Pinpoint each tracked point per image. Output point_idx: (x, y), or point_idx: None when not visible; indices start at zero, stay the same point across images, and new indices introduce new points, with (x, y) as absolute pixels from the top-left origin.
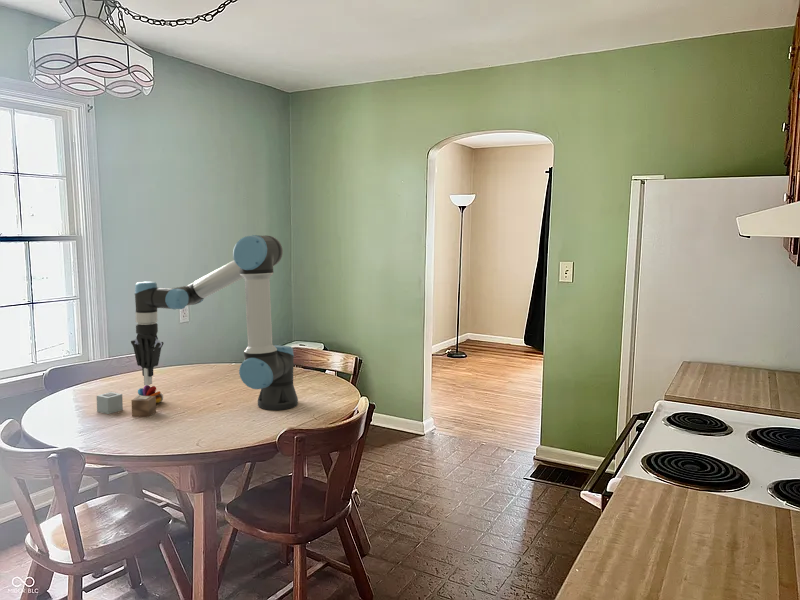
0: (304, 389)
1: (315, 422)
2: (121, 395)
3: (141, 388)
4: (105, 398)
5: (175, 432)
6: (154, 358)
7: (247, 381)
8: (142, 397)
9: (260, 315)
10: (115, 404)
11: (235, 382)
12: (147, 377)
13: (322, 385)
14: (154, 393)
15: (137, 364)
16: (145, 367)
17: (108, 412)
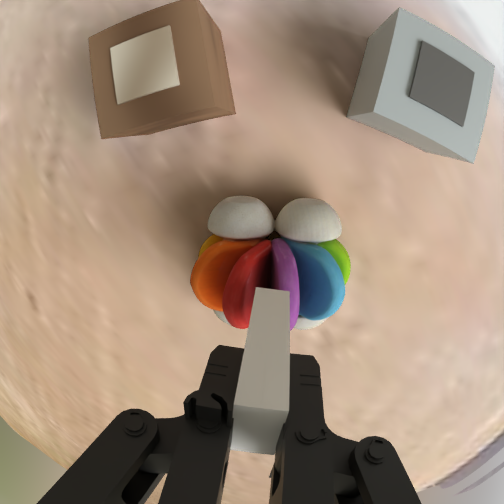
0: (15, 406)
1: None
2: (373, 105)
3: (330, 303)
4: (419, 20)
5: (3, 6)
6: (60, 495)
7: None
8: (149, 60)
9: None
10: (369, 67)
11: None
12: (248, 333)
13: (19, 422)
14: (206, 257)
15: (391, 447)
16: (281, 431)
17: (371, 37)
